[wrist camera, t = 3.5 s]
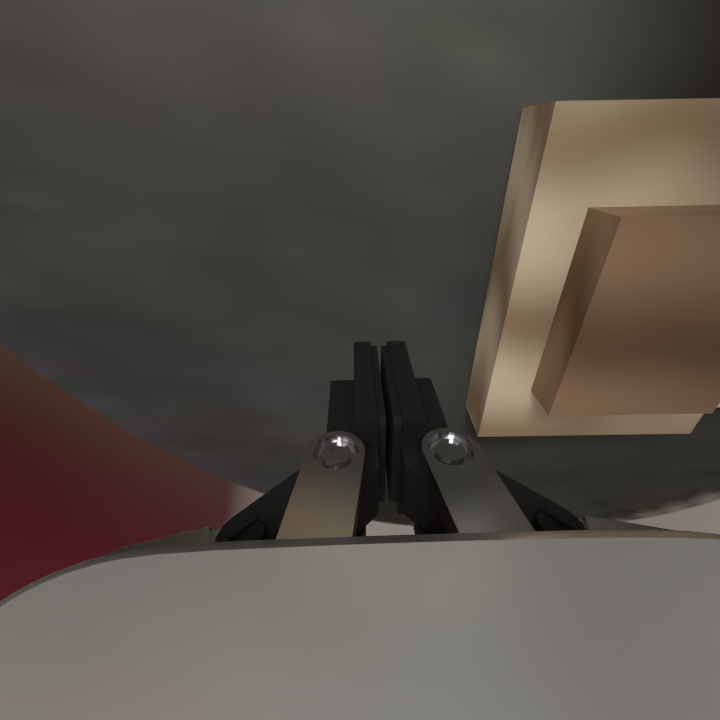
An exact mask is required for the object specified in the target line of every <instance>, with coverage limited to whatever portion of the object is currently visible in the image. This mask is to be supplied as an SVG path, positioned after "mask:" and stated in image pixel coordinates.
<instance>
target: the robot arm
mask: <svg viewBox="0 0 720 720" xmlns="http://www.w3.org/2000/svg"><path fill="white" fill-rule="evenodd" d="M385 465H386V474H387V483H388V492H389V500H390V501H396V502H397V510H398V513H403V514H404V515H406V516H407V517H408V518H410V519H411V520H412V521H413V527H414V532H415V535H393V536H392V535H391V536H366V525H367V524H368V523H369V522H370V521H371V520H372V519H373V518H374V517H375V516H376V515H377V514H378V511H379V502H384V489H385ZM0 720H720V535H719V534H710V533H701V532H690V531H674V530H669V529H662V528H657V527H651V526H645V525H639V524H633V523H628V522H622V521H616V520H610V519H604V518H598V517H592V516H586V515H584V517H583V519H582V520H581V519H577V518H576V517H575V516H574V515H573V514H572V513H570V512H569V511H567V510H566V509H565V508H563V507H561V506H559V505H558V504H556V503H554V502H552V501H550V500H549V499H547V498H545V497H543V496H541V495H540V494H538V493H536V492H534V491H532V490H531V489H529V488H527V487H525V486H524V485H522V484H520V483H518V482H516V481H515V480H513V479H511V478H509V477H507V476H506V475H504V474H502V473H500V472H498V471H497V470H495V469H494V467H493V466H492V464H491V463H490V461H489V460H488V458H487V457H486V455H485V454H484V452H483V451H482V449H481V448H480V446H479V444H478V443H477V442H476V441H475V440H474V439H473V438H472V437H471V436H469V435H468V434H466V433H465V432H462V431H460V430H457V429H451V428H448V426H447V423H446V421H445V418H444V415H443V412H442V409H441V407H440V404H439V401H438V398H437V395H436V393H435V390H434V387H433V384H432V381H431V379H429V378H420V379H415V377H414V373H413V370H412V366H411V363H410V359H409V356H408V352H407V349H406V345H405V342H404V341H388V342H387V346H381V376H380V369H379V361H378V354H377V346H370V342H354V380H343V381H331V389H330V400H329V411H328V423H327V433H324V434H322V435H320V436H318V437H316V438H315V439H314V440H313V441H312V442H311V443H310V445H309V447H308V449H307V452H306V454H305V457H304V460H303V463H302V466H301V469H299V470H298V471H296V472H295V473H294V474H292V475H291V476H289V477H288V478H287V479H285V480H284V481H282V482H281V483H280V484H278V485H277V486H276V487H274V488H273V489H271V490H270V491H269V492H267V493H266V494H264V495H263V496H262V497H260V498H259V499H257V500H256V501H255V502H253V503H252V504H250V505H249V506H248V507H246V508H245V509H244V510H242V511H241V512H239V513H238V514H237V515H235V516H234V517H232V518H231V519H230V520H229V521H228V522H227V523H226V524H225V525H223V527H222V528H221V529H218V530H214V531H212V530H211V528H210V527H206V528H202V529H198V530H194V531H189V532H185V533H181V534H177V535H173V536H169V537H164V538H160V539H156V540H152V541H148V542H143V543H139V544H135V545H131V546H127V547H124V548H120V549H118V550H115V551H113V552H111V553H109V554H108V555H107V556H103V557H100V558H96V559H92V560H88V561H85V562H82V563H80V564H77V565H74V566H72V567H69V568H66V569H63V570H61V571H58V572H56V573H53V574H51V575H49V576H46V577H44V578H42V579H40V580H38V581H35V582H33V583H31V584H30V585H28V586H26V587H24V588H22V589H20V590H18V591H16V592H15V593H13V594H12V595H10V596H9V597H7V598H6V599H4V600H3V601H1V602H0Z"/></svg>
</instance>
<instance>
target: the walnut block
mask: <svg viewBox="0 0 720 720" xmlns="http://www.w3.org/2000/svg"><path fill="white" fill-rule="evenodd" d="M531 391H532V392H533V394H534V395H535V397H536V398H537V400H538V401H539V403H540V404H541V405H542V407H543V408H544V410H545V411H546V413H547V414H548V416H571V415H635V414H700V413H713V412H714V410H715V409H716V408H717V406H718V405H719V403H720V205H695V206H639V207H588V210H587V214H586V217H585V220H584V223H583V226H582V229H581V233H580V236H579V239H578V242H577V245H576V249H575V252H574V255H573V258H572V261H571V264H570V268H569V271H568V274H567V277H566V280H565V284H564V287H563V290H562V293H561V296H560V299H559V303H558V306H557V309H556V312H555V315H554V318H553V322H552V325H551V328H550V331H549V334H548V338H547V341H546V344H545V347H544V350H543V353H542V357H541V360H540V363H539V366H538V369H537V373H536V376H535V379H534V382H533V385H532V388H531Z"/></svg>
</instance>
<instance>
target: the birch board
mask: <svg viewBox="0 0 720 720" xmlns="http://www.w3.org/2000/svg"><path fill="white" fill-rule="evenodd" d="M695 205H720V98H696V99H644V100H591V101H554V102H549V103H544V104H539V105H534V106H530V107H525V108H522V113H521V118H520V123H519V129H518V134H517V139H516V144H515V149H514V155H513V160H512V165H511V170H510V175H509V181H508V186H507V191H506V196H505V201H504V207H503V212H502V217H501V222H500V228H499V233H498V238H497V243H496V248H495V254H494V259H493V264H492V269H491V274H490V280H489V285H488V290H487V295H486V300H485V306H484V311H483V316H482V321H481V326H480V332H479V337H478V342H477V347H476V353H475V358H474V363H473V368H472V373H471V379H470V384H469V389H468V394H467V399H466V405H465V406H466V409H467V411H468V413H469V416H470V418H471V421H472V423H473V426H474V428H475V431H476V433H477V436H478V437H496V436H561V435H627V434H690V433H691V432H692V430H693V429H694V427H695V426H696V424H697V423H698V421H699V420H700V418H701V417H702V416H703V414H704V413H700V414H635V415H571V416H548V414H547V413H546V411H545V410H544V408H543V407H542V405H541V404H540V403H539V401H538V400H537V398H536V397H535V395H534V394H533V392H532V391H531V388H532V385H533V382H534V379H535V376H536V373H537V369H538V366H539V363H540V360H541V357H542V353H543V350H544V347H545V344H546V341H547V338H548V334H549V331H550V328H551V325H552V322H553V318H554V315H555V312H556V309H557V306H558V303H559V299H560V296H561V293H562V290H563V287H564V284H565V280H566V277H567V274H568V271H569V268H570V264H571V261H572V258H573V255H574V252H575V249H576V245H577V242H578V239H579V236H580V233H581V229H582V226H583V223H584V220H585V217H586V214H587V210H588V207H639V206H695Z"/></svg>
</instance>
